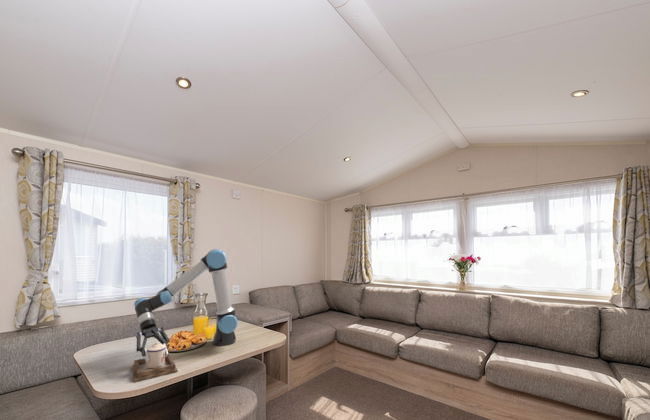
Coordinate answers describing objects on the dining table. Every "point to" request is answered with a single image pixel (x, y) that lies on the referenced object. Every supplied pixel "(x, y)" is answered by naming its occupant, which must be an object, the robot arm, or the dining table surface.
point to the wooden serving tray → (152, 369)
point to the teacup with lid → (156, 355)
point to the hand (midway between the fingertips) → (157, 358)
